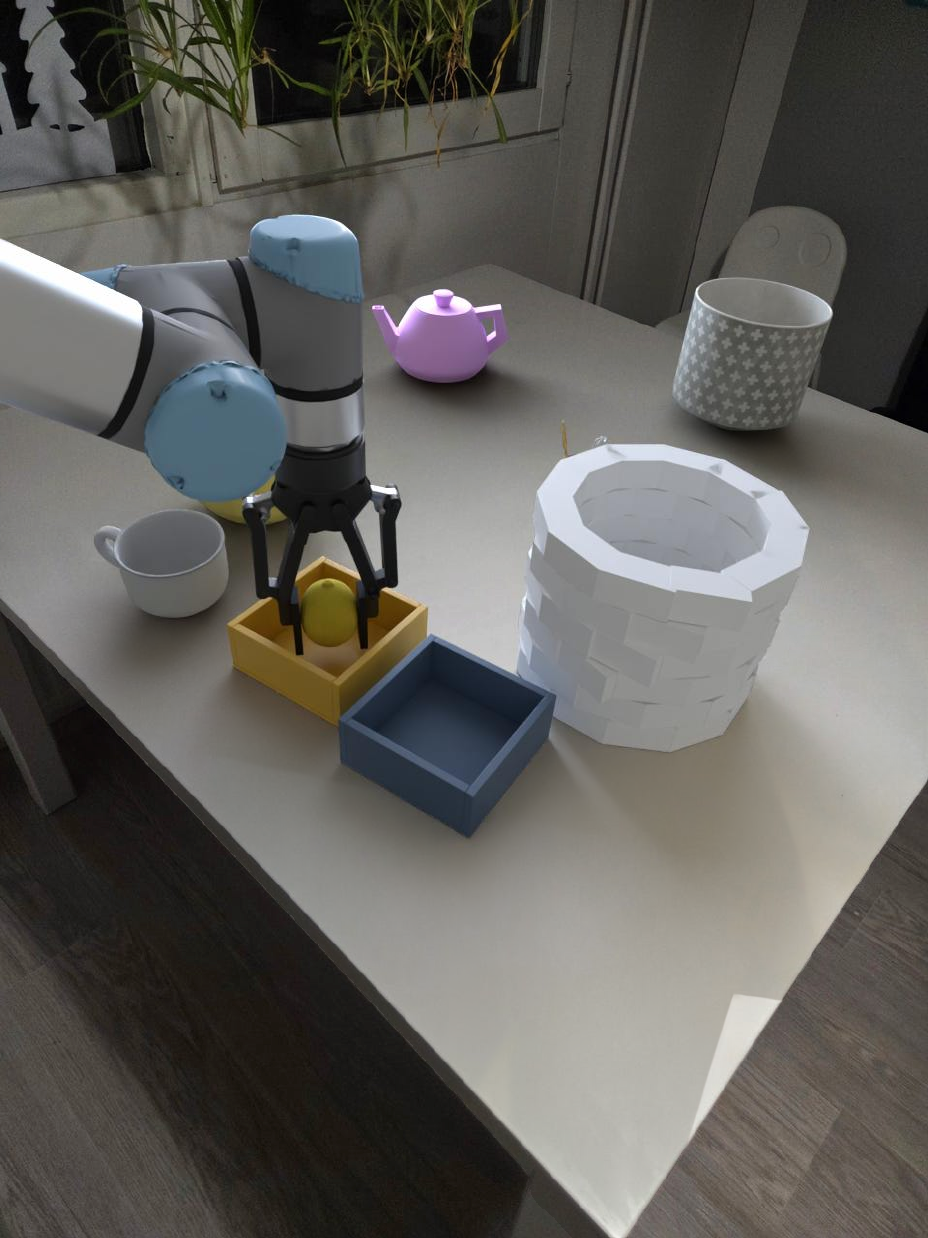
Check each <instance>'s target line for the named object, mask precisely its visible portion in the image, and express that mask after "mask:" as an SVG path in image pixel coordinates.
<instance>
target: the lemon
mask: <svg viewBox="0 0 928 1238" xmlns="http://www.w3.org/2000/svg"><path fill="white" fill-rule="evenodd" d="M358 618H359V613H358V605H357V601H356V598H355V596H354V594H353V592H352V591H351V589H350V588H349V587H348V586H347V585H346V584H344V583H343V582H341V581H338V580H335V579H322V580H319V581H317V582H315V583H313V584H312V585H311V586H310V587H309V588H308V589H307V590H306V592H305V594H304V596H303V598H302V602H301V608H300V619H301V624H302V627H303V630H304V632H305V633H306V635H307V636H308V638H309V639H310V640H311V641H313V642H314V643H315V644H317V645H320V646H323V647H337V646H340V645H342V644H344V643H345V642H347V641H348V640H349V639H350V638H351V637H352V635H353V634H354V632H355V630H356V628H357V624H358Z"/></svg>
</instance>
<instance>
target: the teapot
mask: <svg viewBox="0 0 928 1238" xmlns="http://www.w3.org/2000/svg"><path fill="white" fill-rule="evenodd" d="M372 313H373V316H374V318H375V321H376V322H377V325H378V327H379V329H380V332H381V334H382V337H383V339H384V342H385V344H386V346H387V349H388V351H389V354H390V355H393V356H394V359H395V361H396V363H398V365H399V366H400V367H401V369H402V370H403V371H405V372H406V373H407V374H408V375H409V376H410V377H411V376H412V377H413V378H416V379H418V380H422V381H426V382H431V383H442V384H444V383H447V384H449V383H458V382H462V381H463V382H464V381H466V380H469V379H471V378H473V377H474V376H476V375H477V374H478V373H479V372H480V371H481V370H483V368H484V367H485V366H486V364H487V363H488V360H489V357H490V355H492V354H493V353H495V351H497V350H498V349H499V348H501V347H502V346H503V345H504V344H506V343H507V342H508V341H509V340H510V339H509V334H508V329H507V326H506V322H505V317H504V314H503V313H504V312H503V310H502V306H501V304H500V303H499V304H491V305H485V306H478V307H474V306H473V305H472V304H471V303H470V302H469V301H468V300H466V299H465V298H462V297H459V296H455V295H454V292H453V291H451V290H449V289H437V290H434V291H433V294H429V295H424V296H421V297H419V298H417V299H416V300H415V301H414V302H413V303H412V304H411V306H410V307H409V308H408V310H407V311H406V313H405V314H404V316H403V318H402V319H401V321H400V323H399V325H398V326H396V325H395V323H394V322H393V320H392V318H391V317H390V315H389V314H388V312H387V310H386V309H385V306H384V305H372ZM491 318H492V319H493V327H494V331H492V332H491V333H489V334H488V335H487V332H486V330H485V327H484V326H483V323H482V321H483V320H486V319H491Z"/></svg>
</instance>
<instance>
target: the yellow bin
mask: <svg viewBox="0 0 928 1238" xmlns="http://www.w3.org/2000/svg"><path fill="white" fill-rule="evenodd" d="M322 579H335V580H338V581H341V582H343V583H344V584H346V585H347V586H348V587H349V588H350V589H351V591H352V592H353V594H354V596H355V598H356V580H361V578H360V575H359V573H358V572H356V571H354V570H352V569H350V568H348V567H346V566H344V565H342V564H339V563H337V562H335V561H333V560H331V559H330V558H328V557H326V556H323V555H322V556H320V557H318V558H317V559H315V560H314V561H313V562H311V563H310V564H309V565H307V566H306V567H304V568H303V569H301V570H300V571H298V573H297V577H296V580H295V584H294V585H297V586H298V596H299V607H300V608H301V602H302V598H303V596H304V594H305V592H306V590H307V589H308V588H309V587H310V586H311V585H312V584H313V583H315V582H317V581H319V580H322ZM356 601H357V598H356ZM428 614H429V606H427V605H425V604H424V603H421V602H419V601H417V600H415V599H412V598H410V597H408V596H406V595H404V594H402V593H400V592H397V591H396V590H394V589H393V588H388V587H386V588H383V589H382V590H380V597H379V614H378V616H377V618H368V649H360V643H359V636H358V627H357V628H356V630H355V632H354V634H353V635H352V637H351V638H350V639H349V640H348V641H347V642H345V643H344V644H342V645H340V646H337V647H323V646H320V645H317V644H315V643H314V642H313V641H311V640H310V639H309V638H308V636H307V635H306V633H305V632H304V630H303V627H302V624H301V629H302V640H303V651H304V655H296V651H295V641H294V632H293V625H289V626H282V624H281V623H280V618H279V609H278V602H277V600H276V599H274V598H271V597H268V598H266V599H260V600H258V601H257V602H255V603H254V604H252V605H251V606H250V607H249V608H247V609H246V610H244V611H242V612H241V613H240V614H239V615H237V616H235V618H233V619H232V620H230V621H229V622H227V623H226V631H227V637H228V643H229V649H230V653H231V660H232V666H233V668H235V669H236V670H238V671H240V672H242V673H243V674H245V675H247V676H249V677H250V678H251V679H254V680H256V681H257V682H259V683H261V684H262V685H264V686H266V687H267V688H270V689H271V690H272V691H274V692H276V693H278V694H280V695H281V696H283V697H285V698H286V699H287V700H290V701H292V702H293V703H295V704H297V705H298V706H300V707H302V708H304V709H305V710H307V711H309V712H311V713H313V714H314V715H316V716H318V717H320V718H321V719H322V720H324V721H326V722H328V723H330V725H331V724H332V725H333V726H334V727H337V728H338V719H339V718H340V717H341V716H342V715H343V714H345V713H346V712H347V711H348V710H349V709H350V708H351V707H352V706H353V705H354V704H355V703H356V702H357V701H359V700H360V699H361V698H362V697H363V696H364V695H365V694H366V693H367V692H368V691H369V690H370V689H371V688H373V687H374V686H375V685H376V684H377V683H378V682H379V681H380V680H381V679H382V678H383V677H384V676H385V675H387V674H388V673H389V672H390V671H391V670H392V669H393V668H394V667H395V666H396V665H397V664H398V663H399V662H401V661H402V660H403V659H404V658H405V657H406V656H407V655H408V654H409V653H410V652H411V651H412V650H413V649H415V648H416V647H417V646H418V645H419V644H420V643H421V642H422V641H423V640H424V639H425V638H426V637H427V636H428V621H429V620H428V618H429V617H428Z"/></svg>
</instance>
